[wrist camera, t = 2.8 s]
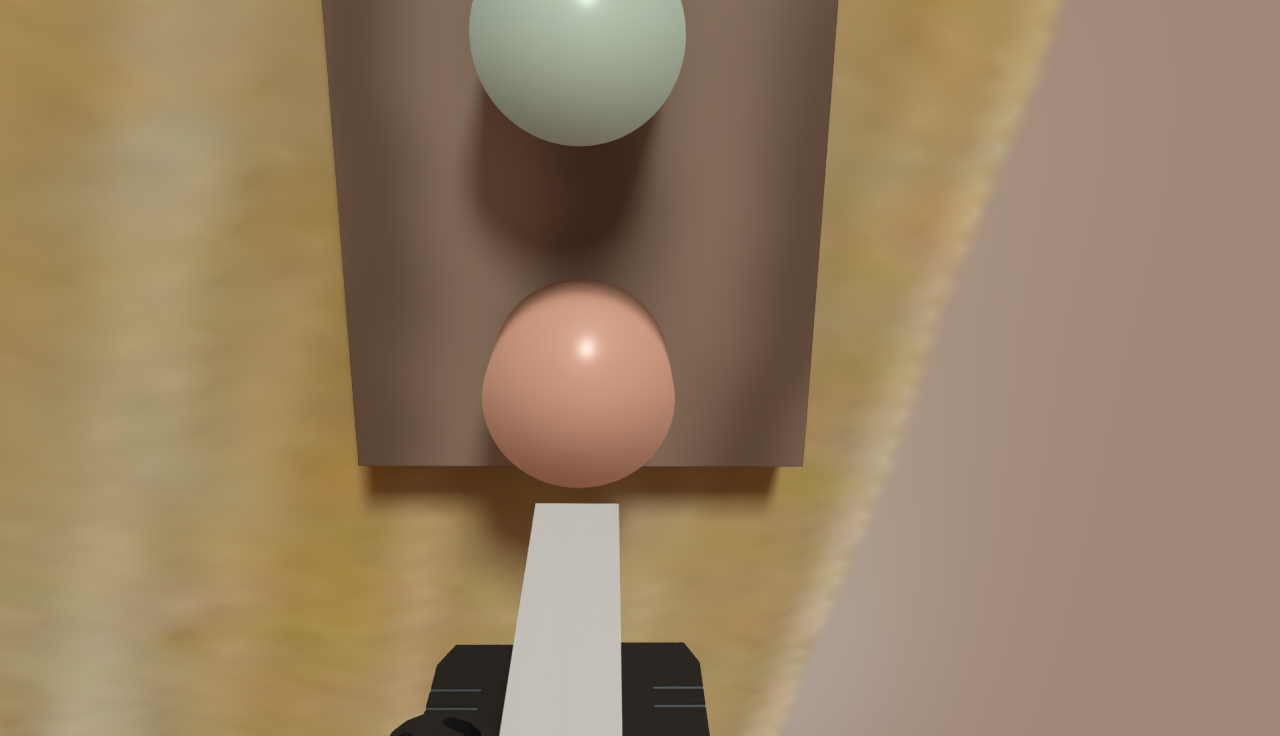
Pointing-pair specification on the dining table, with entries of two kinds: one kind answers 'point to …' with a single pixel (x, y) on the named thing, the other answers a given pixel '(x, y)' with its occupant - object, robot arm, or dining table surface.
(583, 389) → the terracotta button
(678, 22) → the sage button
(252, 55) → the dining table surface
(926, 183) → the dining table surface
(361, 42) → the button board
